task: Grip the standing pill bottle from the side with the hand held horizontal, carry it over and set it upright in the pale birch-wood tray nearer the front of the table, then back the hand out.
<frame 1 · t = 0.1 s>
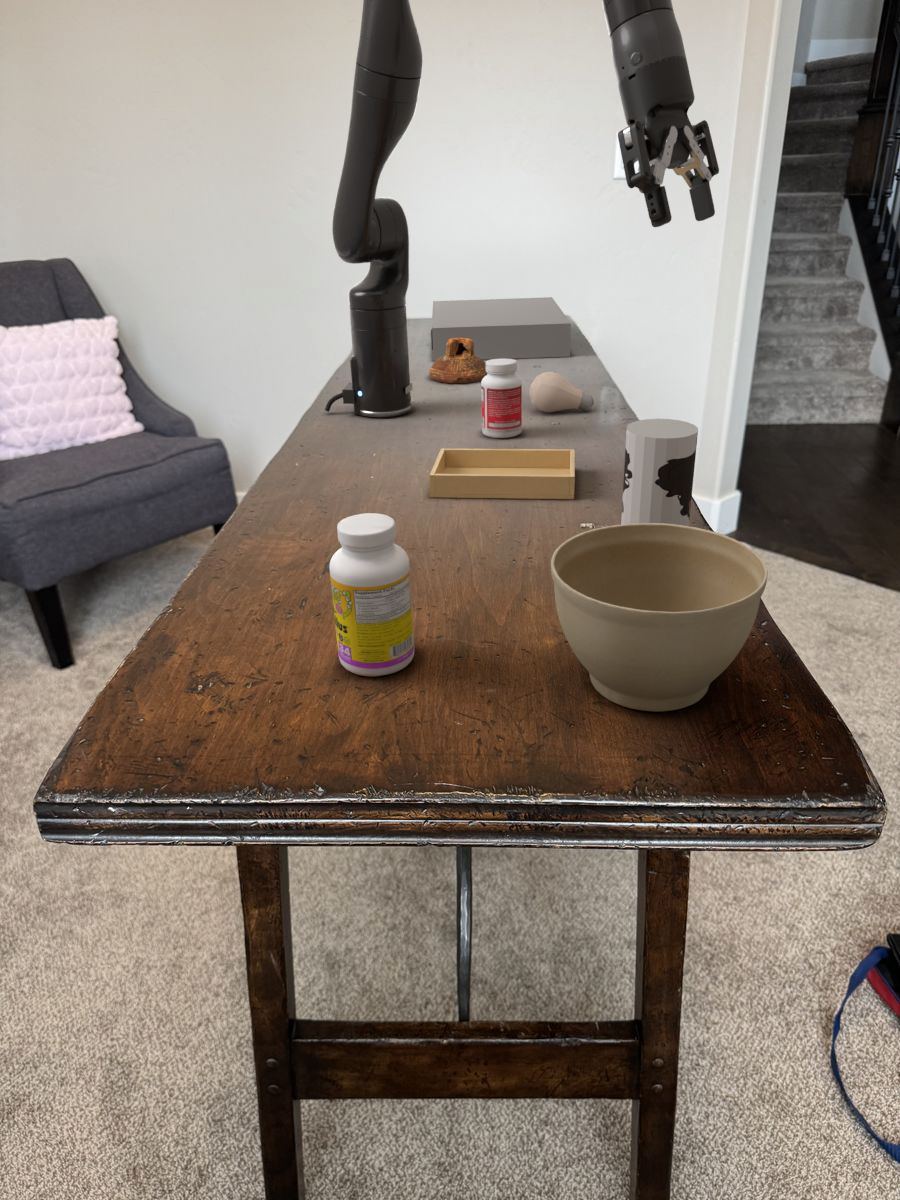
hand: (684, 221, 100), 31 cm above the table, tool tilted 20°, fingers open, 8 cm apart
planter bowl: (646, 684, 73), on the table
light bulb: (561, 412, 148), on the table
supplement bottle: (377, 661, 78), on the table
grey patterned cylinder: (651, 571, 92), on the table
pill bottle: (501, 434, 138), on the table
brown domed piece: (459, 378, 173), on the table
box: (496, 343, 202), on the table
tray: (504, 483, 117), on the table
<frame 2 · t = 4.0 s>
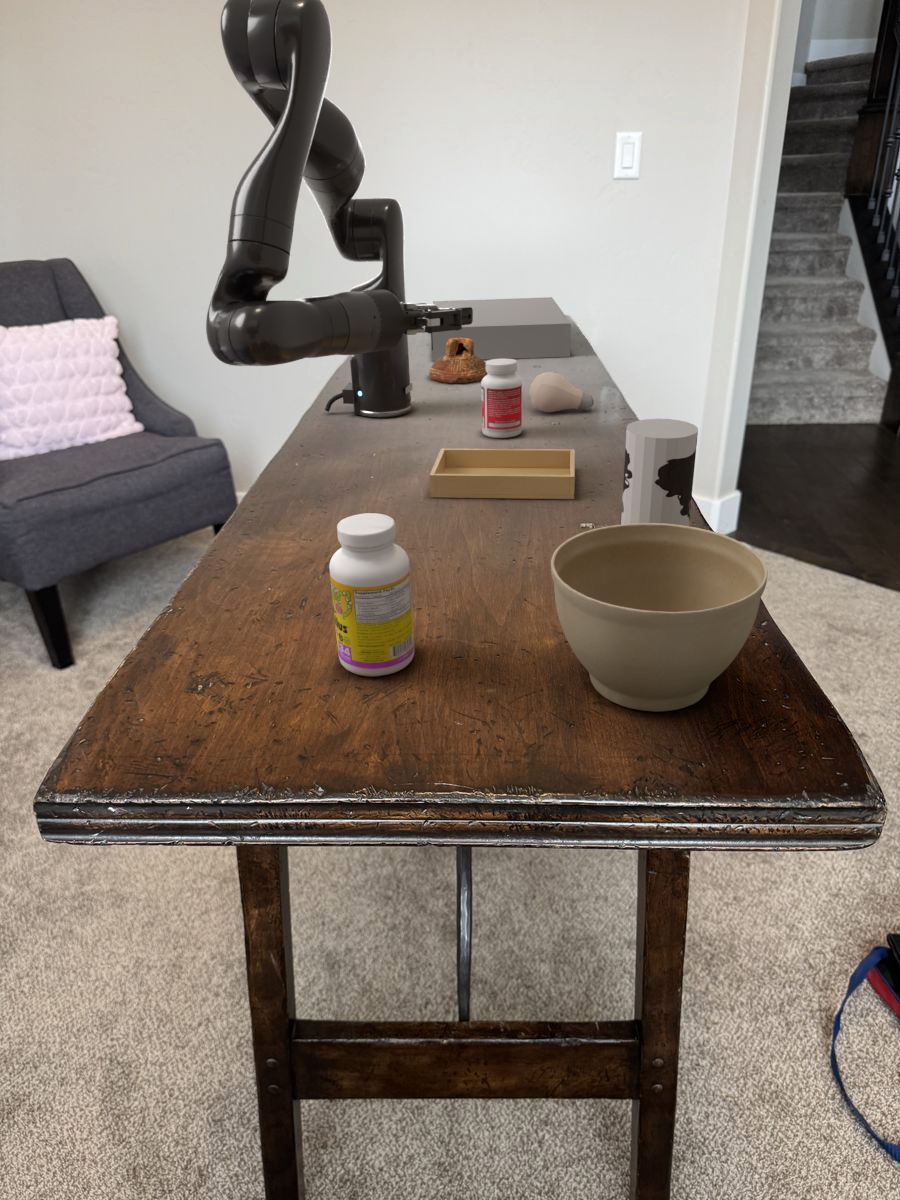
hand: (448, 313, 123), 19 cm above the table, tool horizontal, fingers open, 8 cm apart
nothing on the table moved.
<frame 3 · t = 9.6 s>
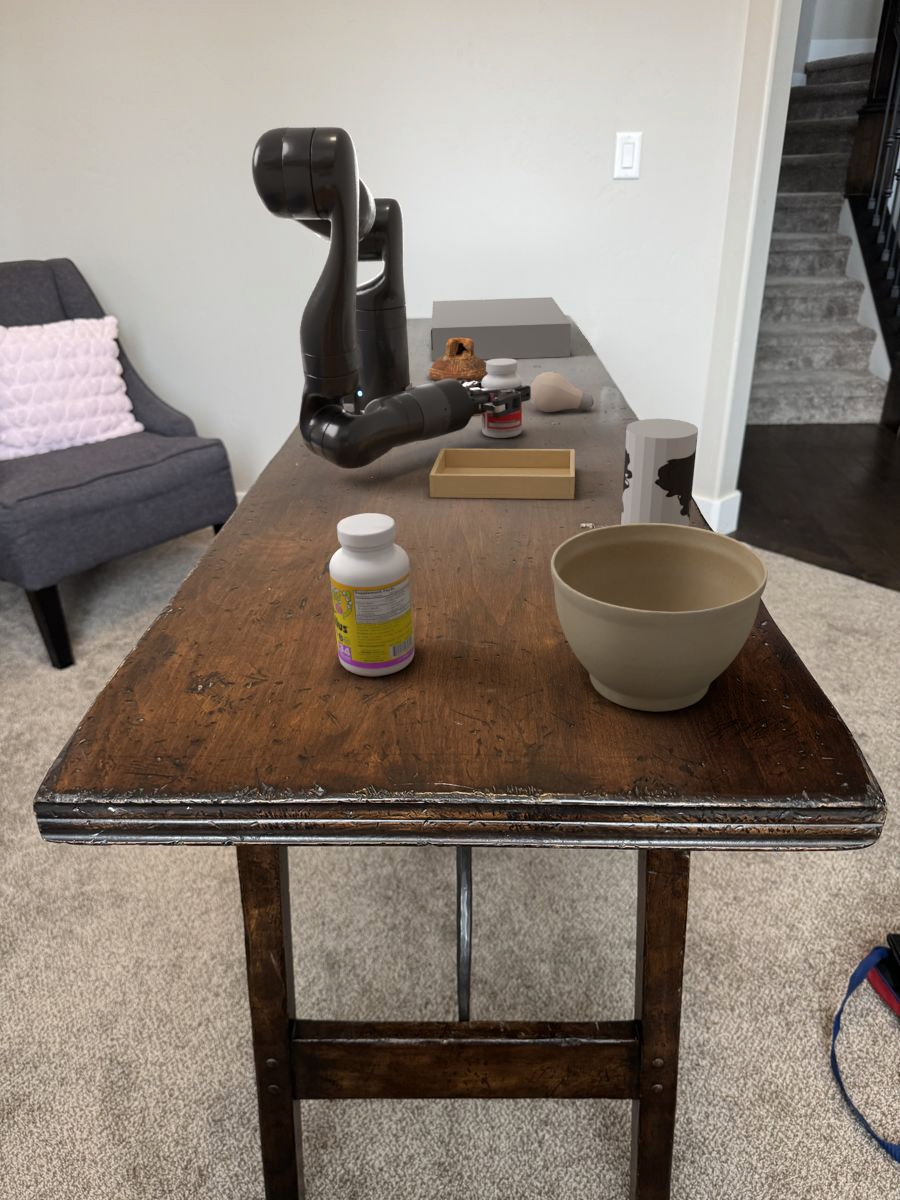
hand: (512, 388, 136), 7 cm above the table, tool horizontal, fingers closed on pill bottle, 6 cm apart
pill bottle: (501, 434, 138), on the table, touching gripper
everything else where it was.
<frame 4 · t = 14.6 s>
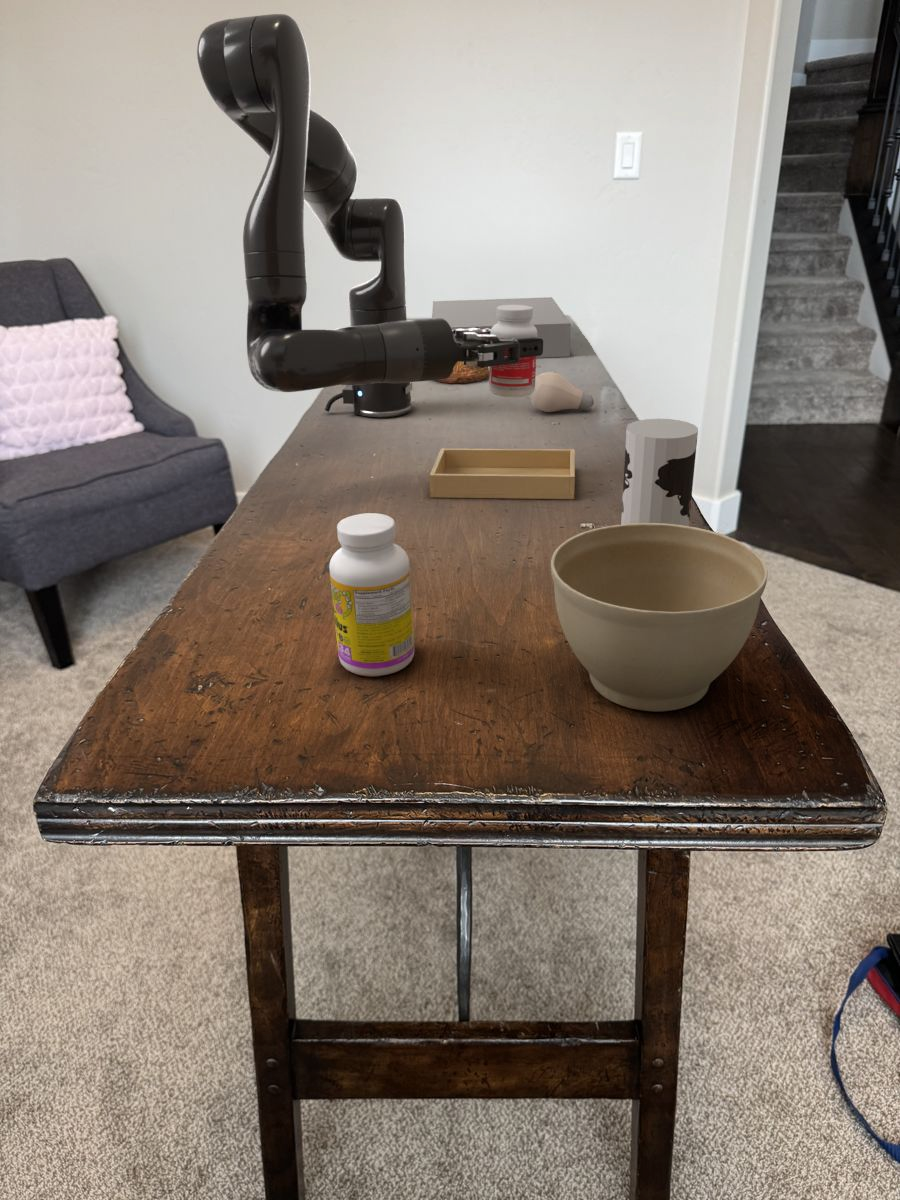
hand: (529, 341, 117), 17 cm above the table, tool horizontal, fingers closed on pill bottle, 6 cm apart
pill bottle: (511, 394, 120), point 10 cm above the table, touching gripper
everything else where it was.
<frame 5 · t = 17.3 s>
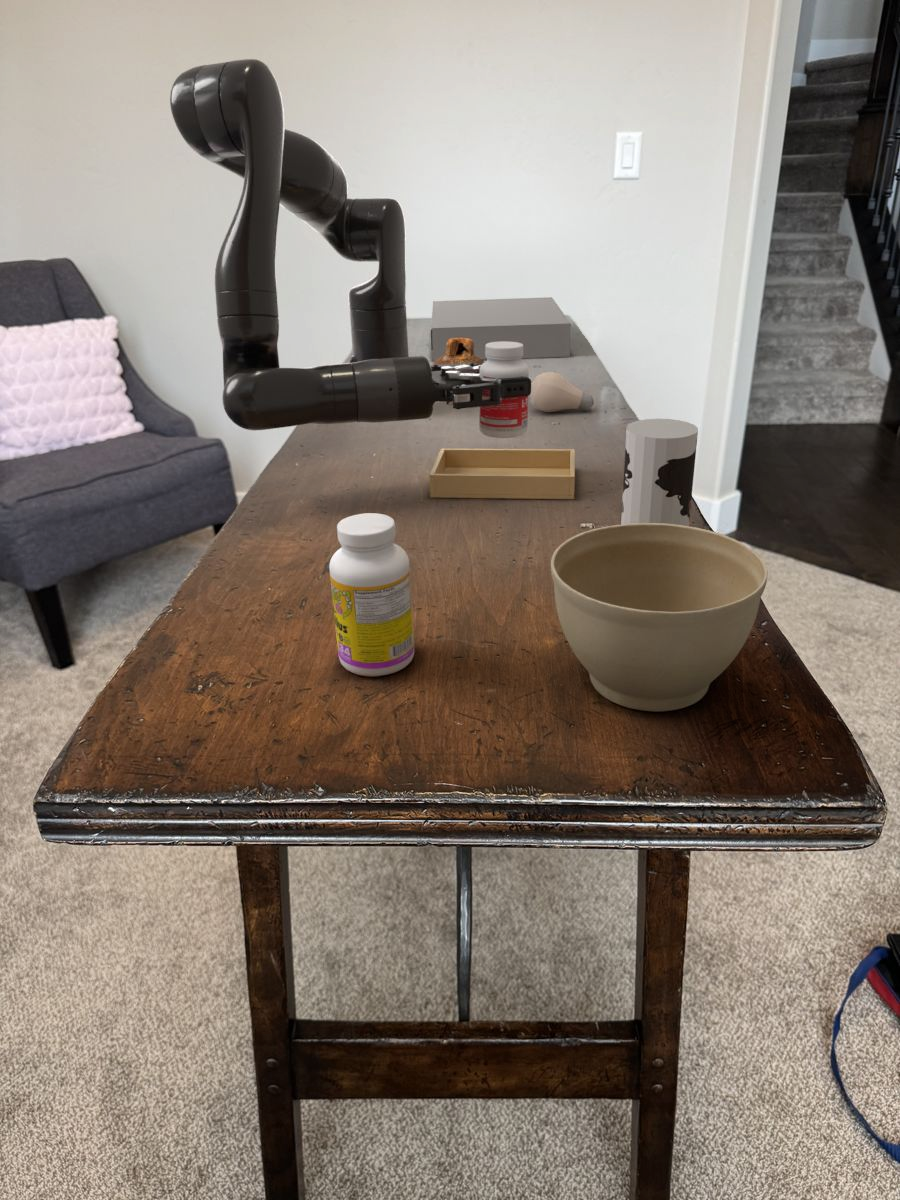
hand: (521, 380, 112), 13 cm above the table, tool horizontal, fingers closed on pill bottle, 6 cm apart
pill bottle: (503, 433, 114), point 7 cm above the table, touching gripper
everything else where it was.
when the fingers open (7 cm above the table, at t = 19.6 s): pill bottle stays where it is, resting on tray.
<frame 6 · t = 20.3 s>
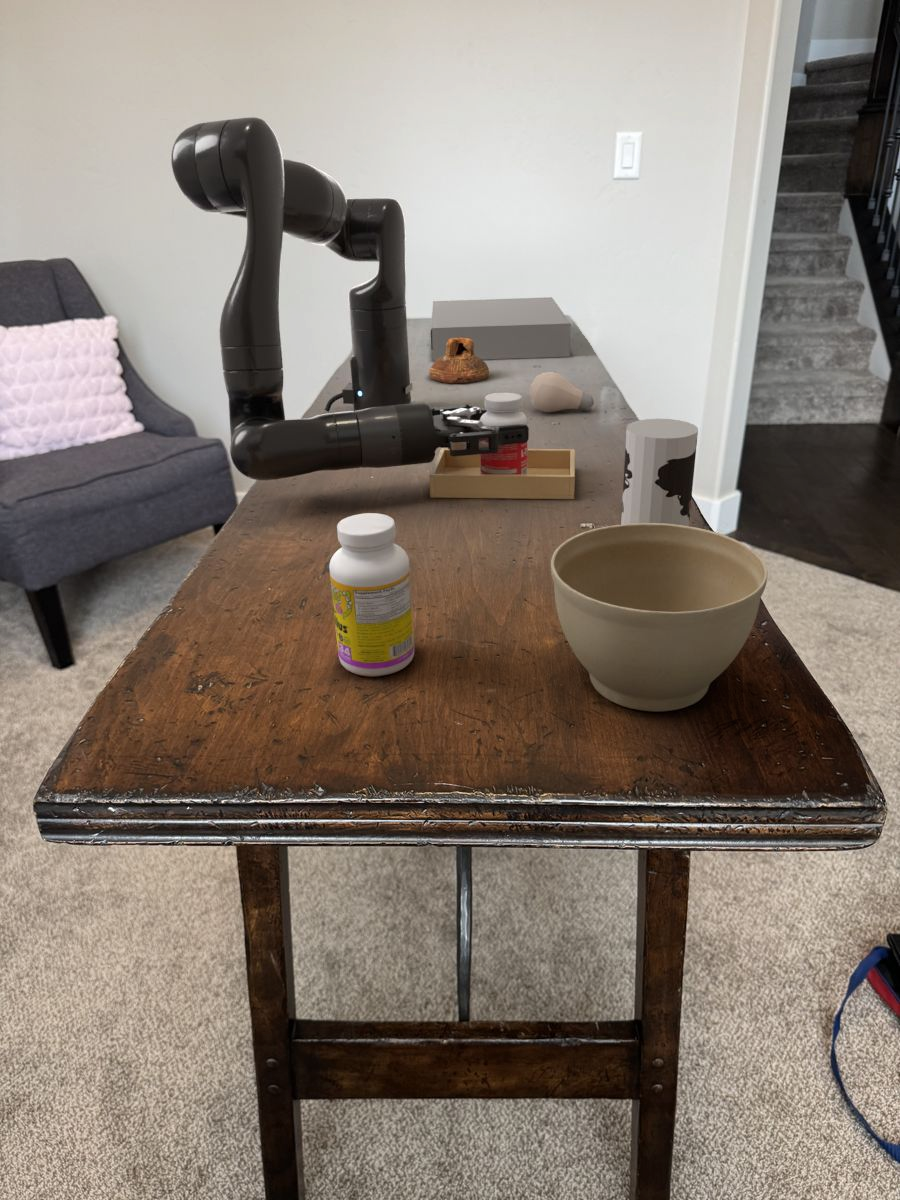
hand: (517, 423, 114), 8 cm above the table, tool horizontal, fingers open, 8 cm apart
pill bottle: (503, 481, 117), resting on tray
everything else where it was.
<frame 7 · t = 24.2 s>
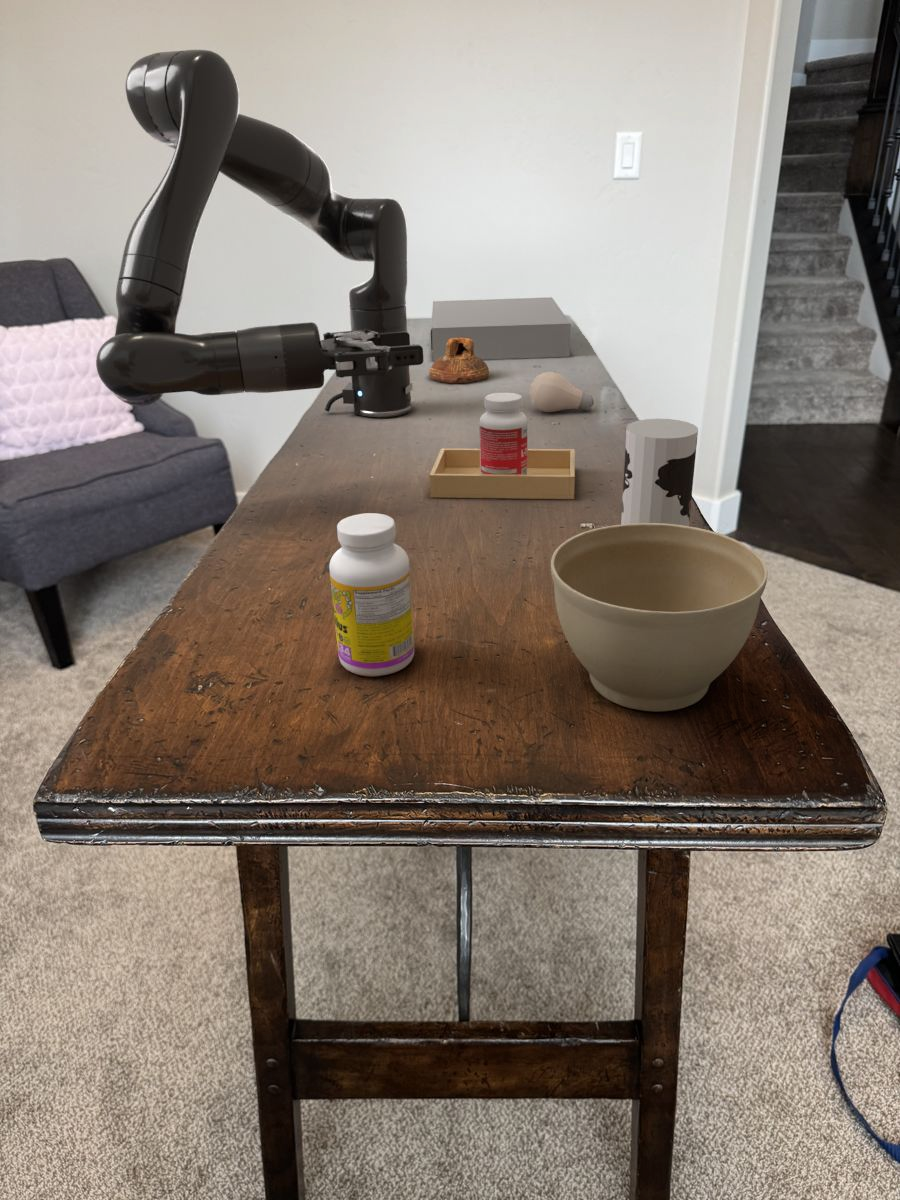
hand: (415, 347, 107), 18 cm above the table, tool horizontal, fingers open, 8 cm apart
nothing on the table moved.
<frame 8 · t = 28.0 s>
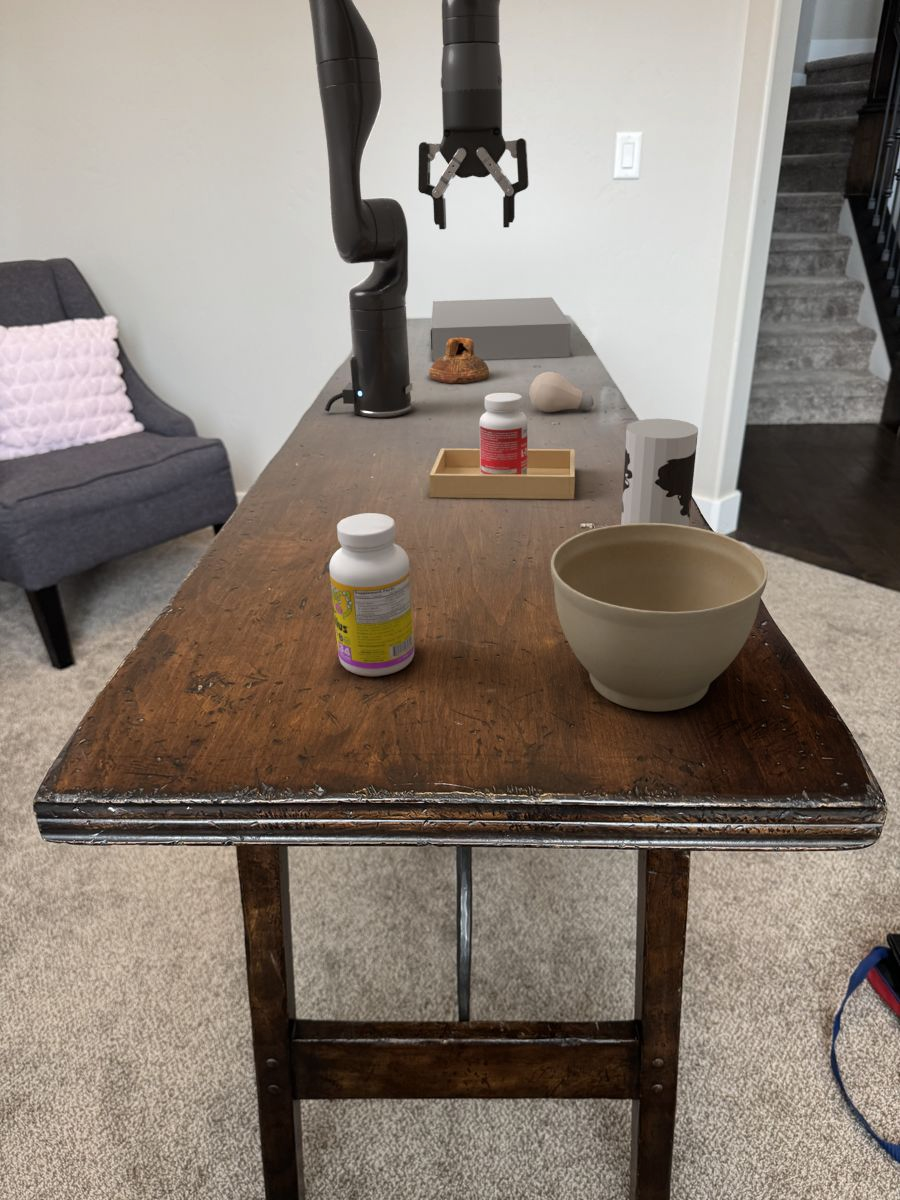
hand: (474, 228, 118), 30 cm above the table, tool pointing down, fingers open, 8 cm apart
nothing on the table moved.
at the end: pill bottle inside the target area in the tray (0.1 cm from its centre), point 0.3 cm above the tray's base; pill bottle tilted 0°; the gripper is holding nothing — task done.
